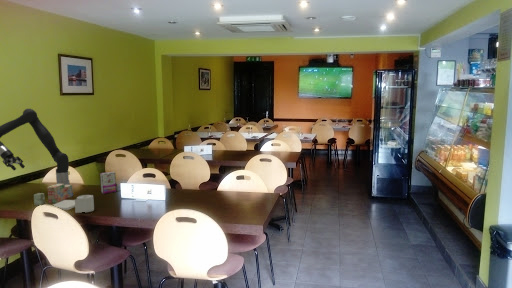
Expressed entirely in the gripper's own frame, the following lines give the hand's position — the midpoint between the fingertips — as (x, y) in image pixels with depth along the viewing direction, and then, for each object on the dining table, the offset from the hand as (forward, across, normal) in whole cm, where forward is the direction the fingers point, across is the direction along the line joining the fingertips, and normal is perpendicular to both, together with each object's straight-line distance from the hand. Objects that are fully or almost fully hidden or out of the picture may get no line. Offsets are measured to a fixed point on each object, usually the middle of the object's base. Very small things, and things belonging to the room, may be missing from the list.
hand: (19, 168), depth 311 cm
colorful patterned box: (+34, +16, +4) cm, 38 cm away
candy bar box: (+51, +43, -13) cm, 68 cm away
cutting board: (+45, 0, -7) cm, 45 cm away
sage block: (+29, 0, +8) cm, 31 cm away
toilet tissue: (+60, -10, -22) cm, 65 cm away
